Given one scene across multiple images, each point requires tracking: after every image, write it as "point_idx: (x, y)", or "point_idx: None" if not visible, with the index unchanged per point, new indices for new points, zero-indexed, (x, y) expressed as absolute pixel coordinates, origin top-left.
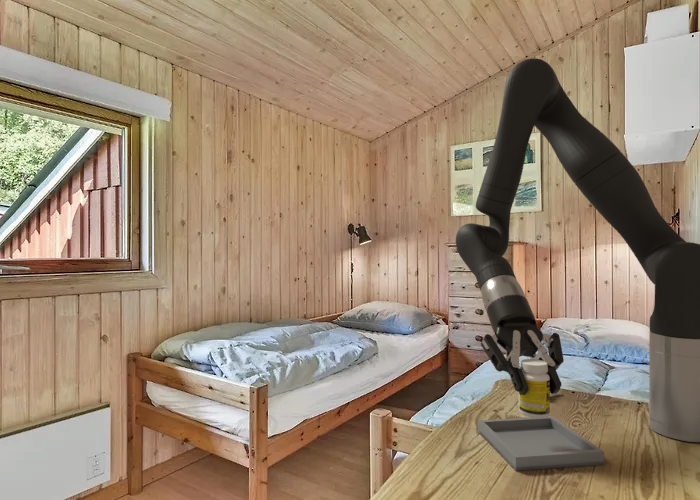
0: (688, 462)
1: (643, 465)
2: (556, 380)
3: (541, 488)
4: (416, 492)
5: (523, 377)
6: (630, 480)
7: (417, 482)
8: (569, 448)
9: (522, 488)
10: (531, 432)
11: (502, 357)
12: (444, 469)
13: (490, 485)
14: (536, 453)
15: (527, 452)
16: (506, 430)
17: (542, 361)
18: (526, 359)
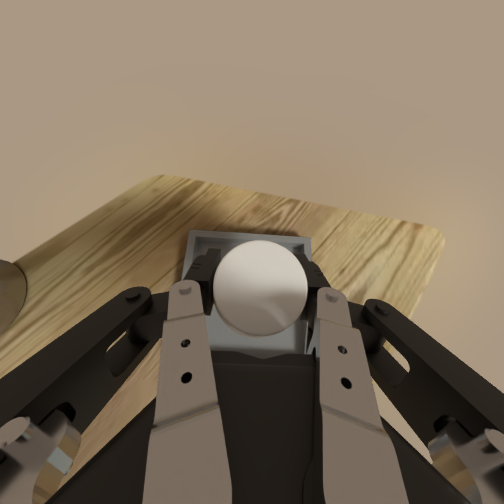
0: (87, 221)
1: (149, 225)
2: (209, 255)
3: (294, 208)
4: (418, 226)
5: (303, 268)
6: (194, 203)
7: (416, 243)
8: None
9: (313, 212)
10: (229, 337)
11: (393, 322)
12: (383, 262)
13: (342, 223)
14: (280, 241)
15: None
16: (266, 353)
17: (224, 285)
18: (271, 328)
